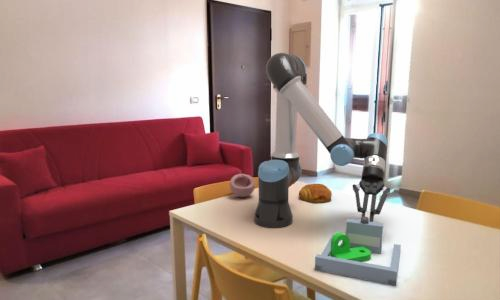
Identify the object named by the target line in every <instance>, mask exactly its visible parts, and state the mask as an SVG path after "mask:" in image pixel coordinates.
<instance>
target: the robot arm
mask: <svg viewBox="0 0 500 300" xmlns="http://www.w3.org/2000/svg"><path fill="white" fill-rule="evenodd" d="M306 71H307V69H306V64H305V62H304V61H303V59H301V58H300V57H299V56H298V55H296V54H290V53H286V52H279V53H275V54H273V55H272V56H270V57H269V59H268V60H267V62H266V66H265V73H266V76H267V78H268V80H269V81H270V82H271V84H272V85H273V86H272V89H273V90H274V91H275V93H276V106H275V107H276V108H275V109H276V112H275V140H274V141H275V142H274V143H275V145H274V151H273V152H272V153H271V158H270V159H268V160H265V161H263V162H261V163H260V164H259V166H258V171H257V176H258V177H257V178H258V202H257V206H256V209H255V212H254V217H253V219H254V223H255V224H256V225H258V226H261V227H264V228H265V227H266V228H273V229H274V228H283V227H284V228H285V227H287V226H290V225H292V224H293V222H294V221H293V220H294V219H293V218H294V215H293V212H292V209H291V206H290V202H289V188H290V187H291V186H292V185H294V184H295V183H297V182H298V180H299V179H300V177H301V175H302V165H301V162H300V154H299V153H298V152H297V133H298V132H297V131H298V130H297V127H298V114H299V115H300V116H301V118H302V119H303V121H304V122H305V123H306V125H308V127H309V128H310V130H311V131H312V132H313V133H314V135H315V136H316V137H317V139H318V140H319V141H320V143H321V144H322V146H323V147H324V148H325V149H326V151H327V152H328V153H329V155H330V156H329V157H330V160H331V161H332V162H331V163H333V164H334V165H336V166H339V167H344V166H346V165H349V164H351V162H352V161H353V160H354V159H362V160H363V165H362V170H361V171H362V172H361V179H360V181H359V182H358V183H357V184H352V190H353V192H354V195H355V201H356V202H355V203H356V209H357V212H358V213H361V217H363V216H364V217H368V218H369V222H374V220H375V219H374V218H375V215H380V214H381V212H382V209H383V206H384V205H385V203H386V199H387V197H389V195H390V194H391V188H390V187H386V186H385V183H384V180H385V170H386V160H387V153H388V152H387V151H388V138H387V137H386V135H385V134H383V133H380V132H373V133H370V134H369V135H367V138H350V137H345V136H344V134H342V132H341V131H340V130H339V128H338V126H336V125H335V123H334V121H333V120H332V119H331V117H329V115H328V114H327V113H326V112H325V110H324V109H323V108H322V107H321V104H319V102H317V100H316V99H315V97H314V95H312V93H311V92H310V91H309V90H308V88H307V87H306V86H305V85H304V83H303V80H304V78H305V75H306ZM360 189H361V190H362V192H363V193H364V195H363V202H362V205H361V200H360ZM381 192H382V195H381V196H380V199H379V201H378V204H377V202H376V200H377V197H378V196H377V195H378V194H379V193H381ZM370 195H371V201H370V202H371V204H370V208H369V211H367V210H368V206H369V205H368V204H369V198H370ZM376 204H377V206H376Z"/></svg>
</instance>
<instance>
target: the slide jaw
mask: <svg viewBox="0 0 500 300" xmlns="http://www.w3.org/2000/svg"><path fill="white" fill-rule="evenodd" d="M383 231H384V223H383V222H375V221H373V222H369V218H368V217H364V216H363V217H362V216H361V217H360V219H353V218H347V220H346V225H345V235H346V236H348V237H349V240H350V248H355V247H361V246H364V247H365V248H367V249H368V250H370V251H371V253H376V254H382V250H383V233H384V232H383Z"/></svg>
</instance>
